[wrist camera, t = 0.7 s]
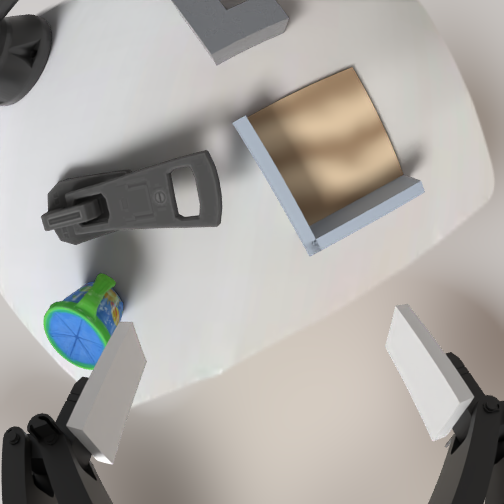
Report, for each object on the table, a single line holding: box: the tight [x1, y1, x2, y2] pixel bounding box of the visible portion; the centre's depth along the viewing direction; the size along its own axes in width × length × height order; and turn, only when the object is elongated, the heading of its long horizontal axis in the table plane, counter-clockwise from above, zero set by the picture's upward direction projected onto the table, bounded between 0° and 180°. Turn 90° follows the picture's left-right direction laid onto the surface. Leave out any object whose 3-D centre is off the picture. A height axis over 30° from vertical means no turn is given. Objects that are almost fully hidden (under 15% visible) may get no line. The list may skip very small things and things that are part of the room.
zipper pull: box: [41, 150, 222, 245], centre depth 31 cm, size 9×7×25 cm
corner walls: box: [233, 115, 425, 256], centre depth 30 cm, size 16×16×5 cm
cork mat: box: [247, 67, 403, 226], centre depth 32 cm, size 15×14×1 cm
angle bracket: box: [172, 0, 289, 65], centre depth 23 cm, size 9×9×5 cm
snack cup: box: [44, 273, 123, 370], centre depth 35 cm, size 16×11×10 cm
